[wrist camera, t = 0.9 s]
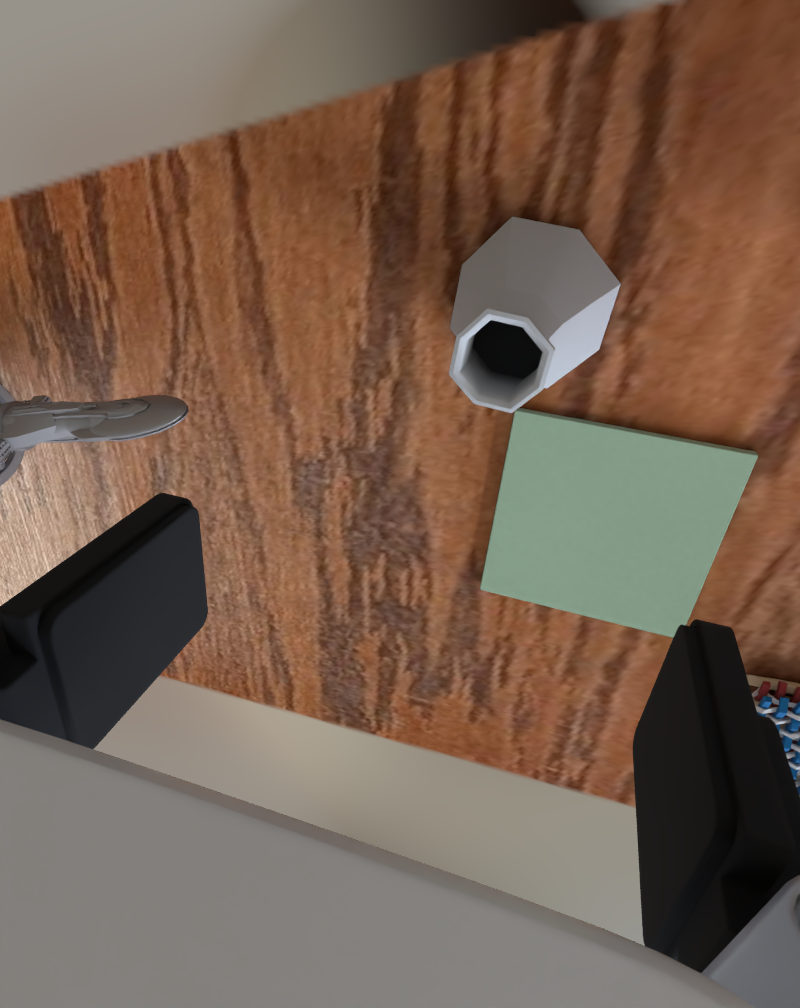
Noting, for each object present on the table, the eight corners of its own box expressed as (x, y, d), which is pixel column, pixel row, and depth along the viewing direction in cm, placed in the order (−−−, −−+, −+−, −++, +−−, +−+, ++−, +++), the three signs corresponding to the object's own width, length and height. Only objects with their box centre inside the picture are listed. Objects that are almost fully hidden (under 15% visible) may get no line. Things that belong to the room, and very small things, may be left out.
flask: (506, 183, 25) (459, 186, 17) (652, 274, 25) (677, 322, 17) (426, 333, 29) (354, 396, 21) (552, 411, 29) (532, 506, 21)
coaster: (516, 406, 30) (514, 410, 29) (756, 451, 27) (758, 455, 27) (481, 584, 35) (479, 589, 35) (679, 633, 33) (679, 639, 33)
